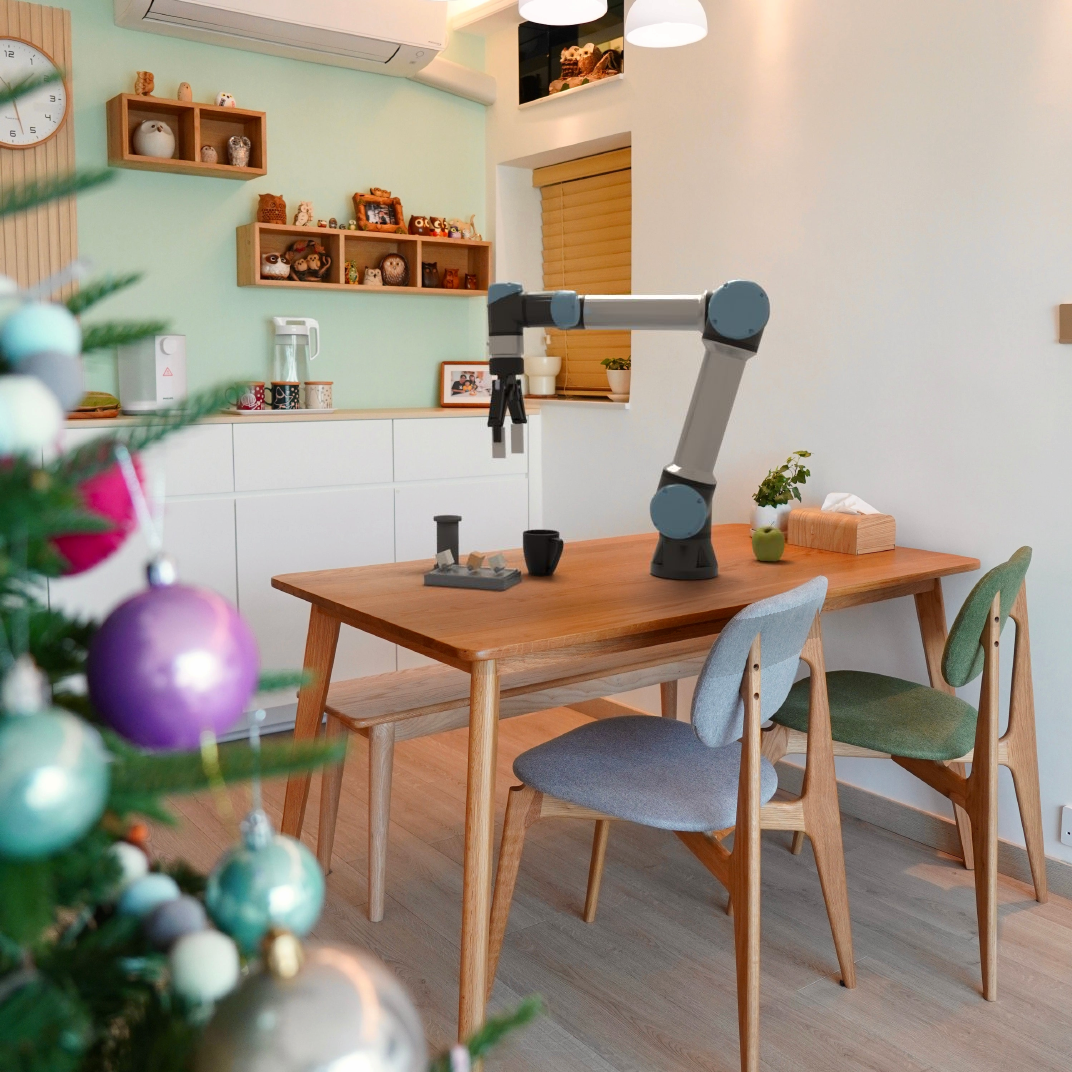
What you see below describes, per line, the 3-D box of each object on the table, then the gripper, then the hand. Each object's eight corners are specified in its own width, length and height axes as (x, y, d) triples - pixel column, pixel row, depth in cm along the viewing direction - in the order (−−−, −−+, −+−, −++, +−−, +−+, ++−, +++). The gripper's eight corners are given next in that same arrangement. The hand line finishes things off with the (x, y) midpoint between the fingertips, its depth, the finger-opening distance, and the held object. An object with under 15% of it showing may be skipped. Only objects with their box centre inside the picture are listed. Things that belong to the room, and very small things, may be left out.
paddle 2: (508, 567, 228) (502, 552, 228) (502, 570, 224) (496, 554, 224) (498, 571, 229) (492, 555, 228) (492, 574, 225) (486, 558, 225)
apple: (764, 551, 264) (774, 515, 260) (786, 566, 258) (796, 528, 254) (740, 554, 260) (750, 517, 256) (762, 569, 254) (772, 531, 250)
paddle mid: (480, 570, 230) (485, 555, 229) (473, 573, 226) (479, 558, 226) (470, 565, 230) (476, 550, 229) (464, 568, 227) (469, 553, 226)
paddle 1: (456, 564, 231) (450, 548, 231) (449, 567, 228) (443, 551, 228) (446, 567, 232) (440, 552, 232) (440, 570, 229) (434, 555, 229)
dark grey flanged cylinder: (466, 567, 247) (465, 515, 245) (455, 571, 241) (455, 519, 239) (440, 565, 249) (440, 514, 247) (429, 570, 243) (429, 518, 241)
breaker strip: (521, 580, 231) (521, 568, 231) (503, 590, 221) (503, 577, 220) (444, 575, 237) (444, 563, 236) (424, 584, 226) (424, 571, 226)
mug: (544, 581, 231) (544, 538, 229) (515, 572, 241) (516, 530, 239) (575, 577, 235) (576, 535, 233) (546, 569, 245) (546, 528, 244)
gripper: (506, 357, 241) (509, 451, 245) (470, 356, 218) (473, 460, 221) (538, 357, 239) (540, 451, 243) (505, 355, 216) (508, 460, 219)
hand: (508, 455), depth 232 cm, fingers open, 13 cm apart
